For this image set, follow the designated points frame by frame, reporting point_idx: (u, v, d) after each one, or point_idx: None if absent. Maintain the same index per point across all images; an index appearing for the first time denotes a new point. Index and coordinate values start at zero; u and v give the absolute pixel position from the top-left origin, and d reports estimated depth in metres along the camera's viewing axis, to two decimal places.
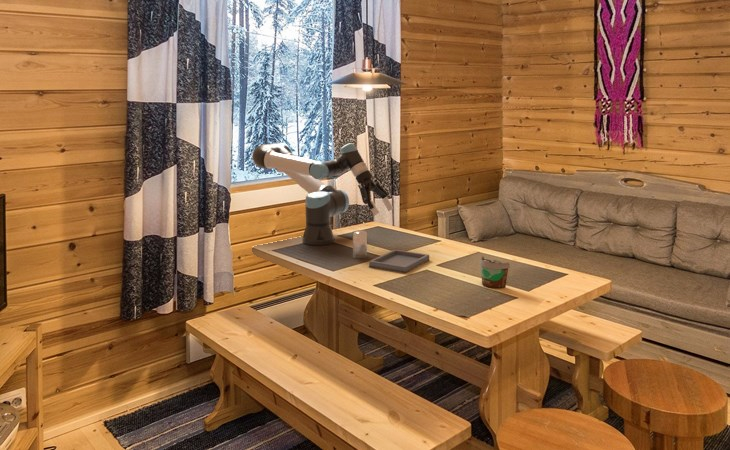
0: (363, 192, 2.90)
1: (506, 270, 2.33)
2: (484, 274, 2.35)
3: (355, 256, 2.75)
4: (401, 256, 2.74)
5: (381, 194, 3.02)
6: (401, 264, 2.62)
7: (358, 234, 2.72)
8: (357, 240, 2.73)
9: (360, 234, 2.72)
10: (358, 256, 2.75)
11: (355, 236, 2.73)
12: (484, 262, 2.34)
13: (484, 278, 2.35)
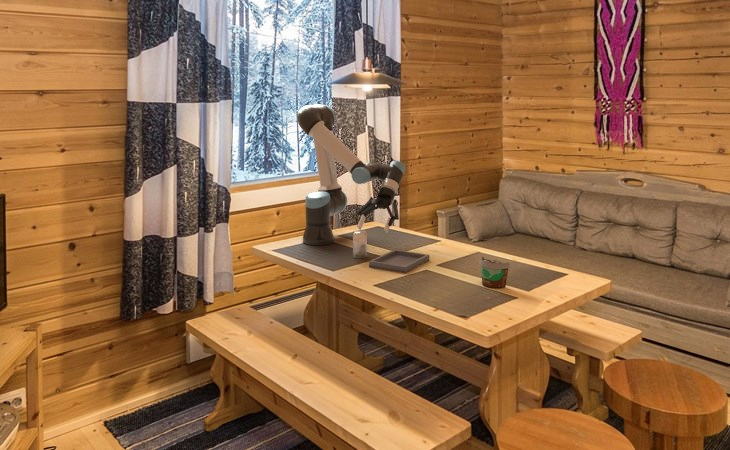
0: (397, 210, 2.81)
1: (506, 270, 2.33)
2: (484, 274, 2.35)
3: (355, 256, 2.75)
4: (401, 256, 2.74)
5: (367, 212, 2.87)
6: (401, 264, 2.62)
7: (358, 234, 2.72)
8: (357, 240, 2.73)
9: (360, 234, 2.72)
10: (358, 256, 2.75)
11: (355, 236, 2.73)
12: (484, 262, 2.34)
13: (484, 278, 2.35)
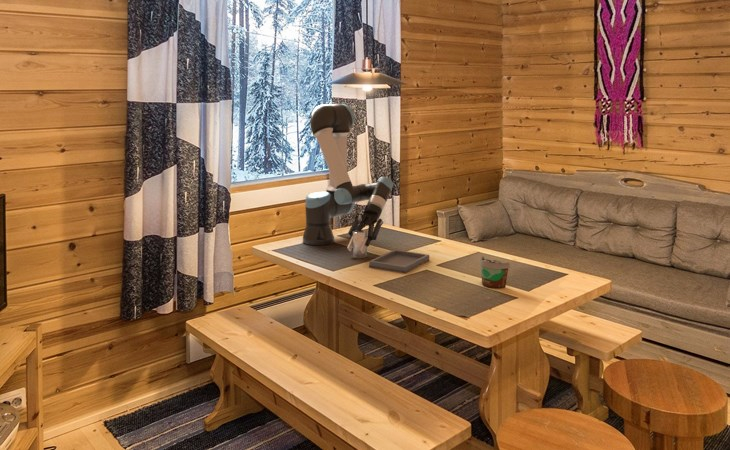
0: (378, 230, 2.76)
1: (506, 270, 2.33)
2: (484, 274, 2.35)
3: (355, 256, 2.75)
4: (401, 256, 2.74)
5: None
6: (401, 264, 2.62)
7: (358, 234, 2.72)
8: (357, 240, 2.73)
9: (360, 234, 2.72)
10: (358, 256, 2.74)
11: (355, 236, 2.73)
12: (484, 262, 2.34)
13: (484, 278, 2.35)
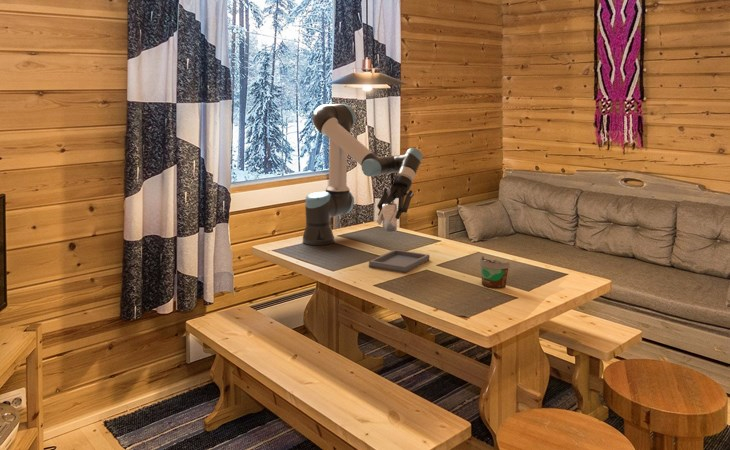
0: (408, 202, 2.64)
1: (506, 270, 2.33)
2: (484, 274, 2.35)
3: (385, 229, 2.63)
4: (401, 256, 2.74)
5: None
6: (401, 264, 2.62)
7: (388, 206, 2.61)
8: (387, 212, 2.61)
9: (390, 206, 2.60)
10: (388, 229, 2.63)
11: (385, 208, 2.61)
12: (484, 262, 2.34)
13: (484, 278, 2.35)
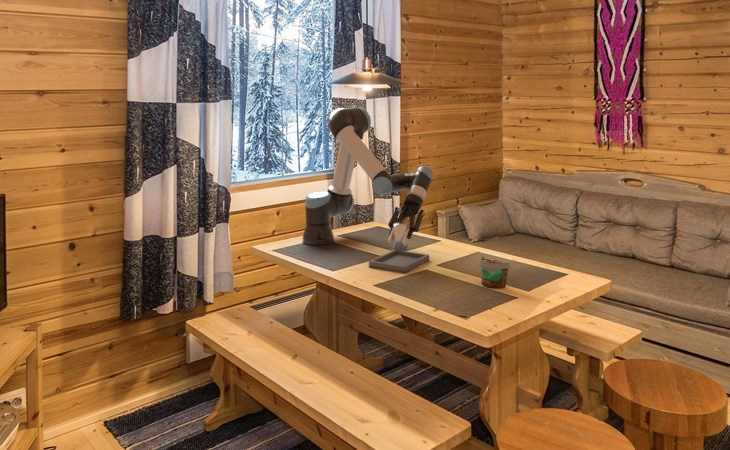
0: (420, 222, 2.63)
1: (506, 270, 2.33)
2: (484, 274, 2.35)
3: (396, 249, 2.62)
4: (401, 256, 2.74)
5: None
6: (401, 264, 2.62)
7: (399, 226, 2.59)
8: (399, 232, 2.60)
9: (402, 226, 2.59)
10: (399, 249, 2.62)
11: (396, 228, 2.60)
12: (484, 262, 2.34)
13: (484, 278, 2.35)
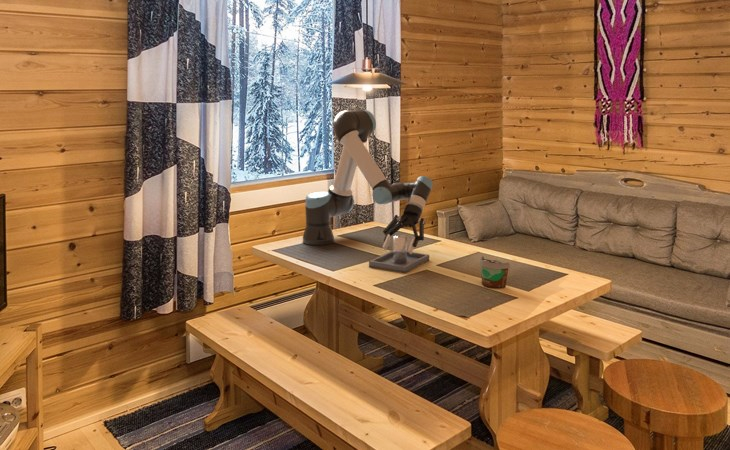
0: (423, 230, 2.64)
1: (506, 270, 2.33)
2: (484, 274, 2.35)
3: (395, 261, 2.64)
4: None
5: (393, 232, 2.69)
6: (401, 264, 2.62)
7: (399, 239, 2.61)
8: (398, 245, 2.61)
9: (401, 239, 2.61)
10: (398, 261, 2.63)
11: (396, 241, 2.62)
12: (484, 262, 2.34)
13: (484, 278, 2.35)
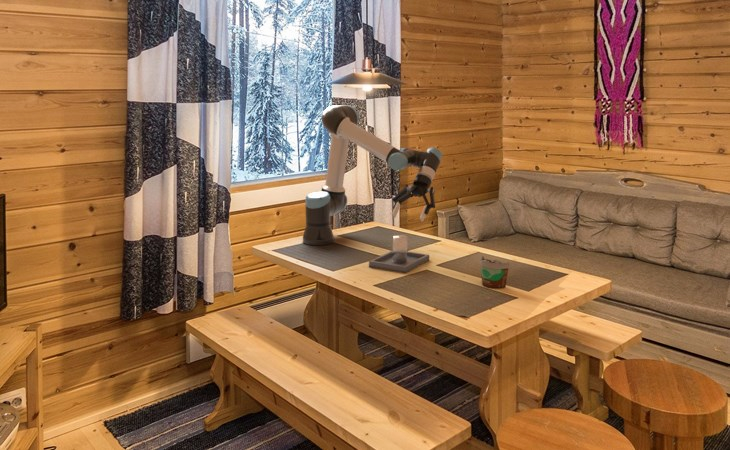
0: (433, 198, 2.73)
1: (506, 270, 2.33)
2: (484, 274, 2.35)
3: (395, 261, 2.64)
4: None
5: (402, 200, 2.78)
6: (401, 264, 2.62)
7: (399, 239, 2.61)
8: (398, 245, 2.61)
9: (401, 239, 2.61)
10: (398, 261, 2.63)
11: (395, 241, 2.62)
12: (484, 262, 2.34)
13: (484, 278, 2.35)
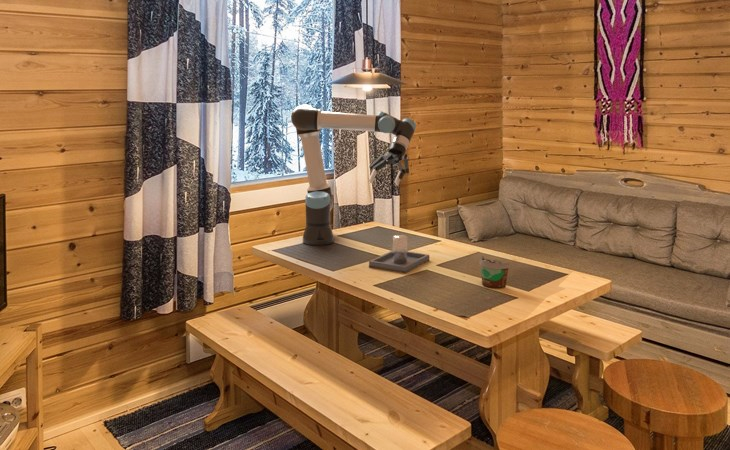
0: (407, 164, 2.91)
1: (506, 270, 2.33)
2: (484, 274, 2.35)
3: (395, 261, 2.64)
4: None
5: (379, 167, 2.96)
6: (401, 264, 2.62)
7: (399, 239, 2.61)
8: (398, 245, 2.61)
9: (401, 239, 2.61)
10: (398, 261, 2.63)
11: (395, 241, 2.62)
12: (484, 262, 2.34)
13: (484, 278, 2.35)
